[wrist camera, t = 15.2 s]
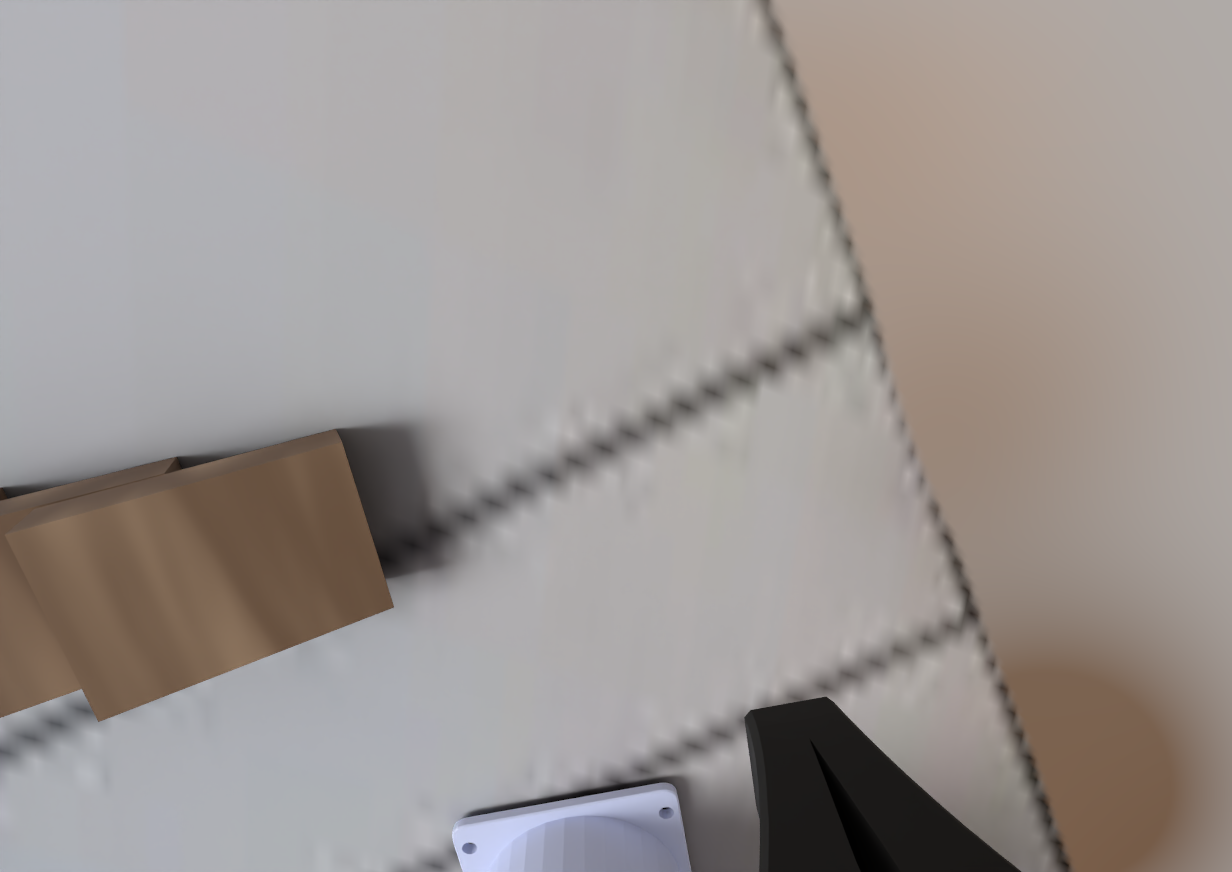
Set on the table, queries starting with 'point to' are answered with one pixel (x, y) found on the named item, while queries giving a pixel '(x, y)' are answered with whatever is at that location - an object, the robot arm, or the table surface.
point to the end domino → (202, 569)
